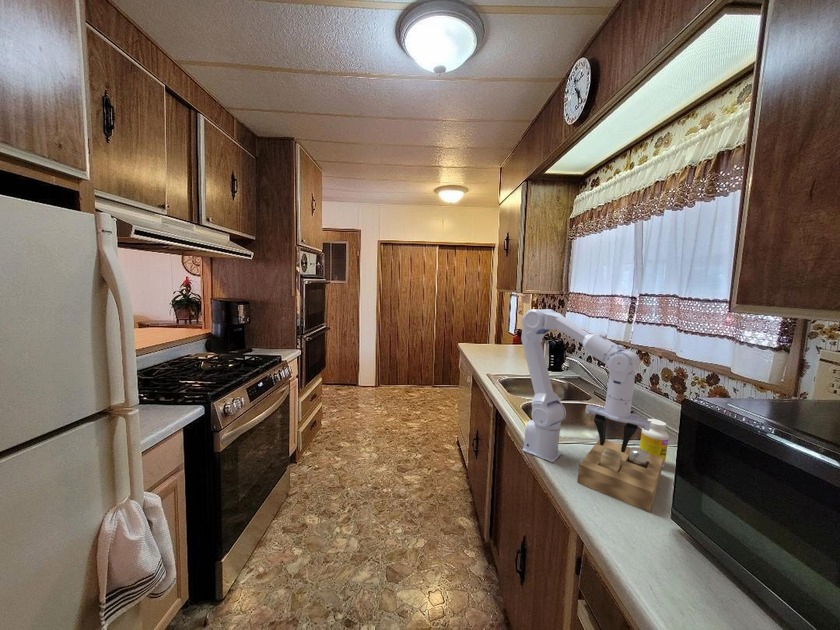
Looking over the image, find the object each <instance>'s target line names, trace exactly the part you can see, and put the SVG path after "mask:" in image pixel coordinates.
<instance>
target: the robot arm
mask: <svg viewBox="0 0 840 630" xmlns="http://www.w3.org/2000/svg"><path fill="white" fill-rule="evenodd" d="M521 323H522V328H521V329H522V330H521V337H520V339H521V344H522V348H523V353H524V356H525V359H526V360H525V361H526V363H527V367H528V372H529V376H530V380H531V385H532V388H533V391H534V392H533V393H534V396H533V398H532V400H531V402H530V403H531V419H530V420H528V422H527V423H526V427H525V430H524V431H525V432H524V438H523V439H524V440H523V441H524V442H523V448H522V451H523V452H525V453H527V454H529V455H532V456H535V457H538V458H540V459H543V460H546V461H548V462H550V463H555V462H556V460H558V458H559V457H560V456H561V455H562V454H563V451H561V450H559V445H560V444H559V441H560V434H561V425H562V421H564V420H565V418H566V415H567V410H566V407H565V406H564V405H563V404H562V402H561V399H560V396H559V395H558V394H557V393H555V392H554V389H553V385H552V381H551V377H550V374H549V369H548V365H547V362H546V357H545V354H544V350H543V346H542V340H543V338H544V337H545V335H546V334H547V333H549V332H550V331H552V330H556V331H559V332H561V333H563V334H564V335H566V336H568V337H570V338H571V339H572V340H575V341H577V342H578V343H580V344H581V345H582V348H583V350H584V351H585V352H586V353H588V354H589V355H591V356H592V357H594V358H595V359H596V360H598V361H599V362H601V363H603V364H605V365H606V367H607V368H608V370H609V373H608V374H609V375H608V380H607V390H606V397H605V403H604V404H605V405H604V407H602V406H596V405H591V404H586V406H585V412H584V414H588V415H594V418H593V422H594V424H595V426H596V427H595V428H596V429H597V432H598V438H599V439H600V445H602V446H603V445H604V443H605V440H606V433H607V425H608V421H609V420H611V421H615V422H617V423H618V422H619V423H622V424H625V425H624V427H623V438H622V439H623V440H622V444H621V445H622V448H621V452H625V450H626V447H628V443H629V442H630V440H631V438H632V437H633V436H634V434H635V433H636V432H637V431H638V428H640V429H644V430H647V431H649V430H650V426H651V421H648V419H644V418H642V417H639V416H636V415H633V414H631V413H632V412H631V411H632V403H633V397H634V391H635V390H634V389H635V378H636V371H637V370H638V369H639V368H640V365H641V359H640V357H639V355H638V354H637V353H636V352H634V350H633V349H629V348H628V349H627V348H626V349H623V348H624V346H623V345H622V344H616V343H614V342H612V341H611V340H609V339H608V338H607V335H606V334H604V333H600V334H599V333H598V332H597V333H595V332H594V333H589V332H588V331H586V330H585V329H583V328H582V327H581V326H578V325H577V324H576V323H574V322H572V321H571V320H569V319H568V318H566V317H565V316H563V314H562V313H559V312H556V311H555V310H553V309H551V308H544V309H535V308H532V309H529V310H527V311H526V312H525V314H524V315H523V317H522V318H521Z"/></svg>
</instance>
